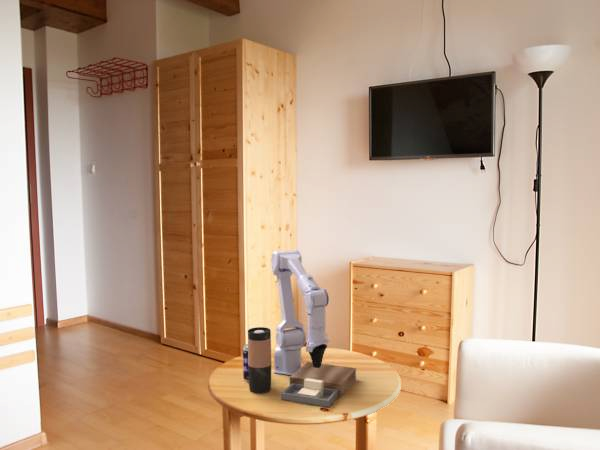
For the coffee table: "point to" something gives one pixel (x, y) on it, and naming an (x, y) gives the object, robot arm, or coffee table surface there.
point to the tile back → (314, 385)
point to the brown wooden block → (326, 376)
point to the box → (323, 401)
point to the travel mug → (259, 359)
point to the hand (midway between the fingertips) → (317, 367)
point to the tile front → (309, 392)
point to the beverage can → (245, 363)
